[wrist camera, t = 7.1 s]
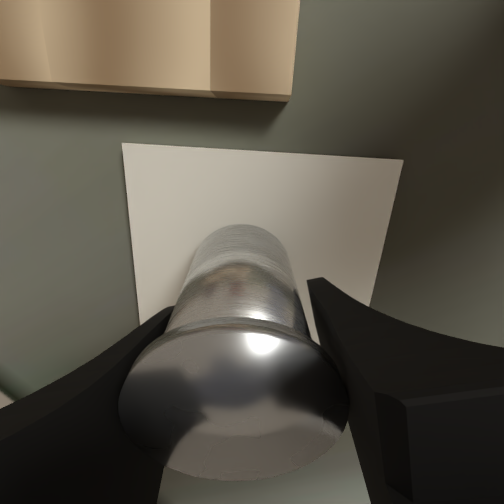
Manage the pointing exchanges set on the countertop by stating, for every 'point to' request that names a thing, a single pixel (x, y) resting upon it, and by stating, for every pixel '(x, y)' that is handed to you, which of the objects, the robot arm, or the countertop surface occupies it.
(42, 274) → the countertop surface
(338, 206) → the trivet
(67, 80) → the wooden square frame
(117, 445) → the robot arm
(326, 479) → the countertop surface
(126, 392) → the end cap
